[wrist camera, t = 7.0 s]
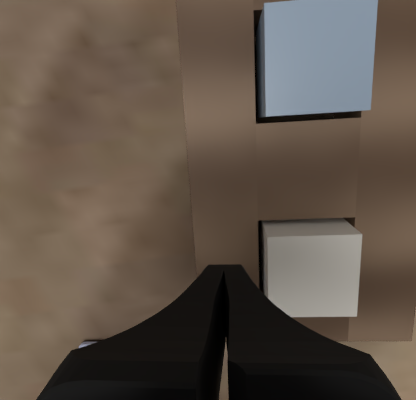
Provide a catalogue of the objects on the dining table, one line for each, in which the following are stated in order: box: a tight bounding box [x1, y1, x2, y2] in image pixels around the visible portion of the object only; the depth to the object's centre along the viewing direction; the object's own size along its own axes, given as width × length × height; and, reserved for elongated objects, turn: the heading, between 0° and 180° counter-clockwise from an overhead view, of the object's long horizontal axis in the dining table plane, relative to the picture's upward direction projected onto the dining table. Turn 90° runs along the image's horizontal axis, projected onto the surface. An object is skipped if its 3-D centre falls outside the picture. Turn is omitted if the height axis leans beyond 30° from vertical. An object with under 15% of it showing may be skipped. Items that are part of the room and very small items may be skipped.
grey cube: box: [256, 0, 378, 118], centre depth 15 cm, size 4×4×4 cm
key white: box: [260, 218, 362, 317], centre depth 17 cm, size 4×4×4 cm
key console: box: [176, 0, 416, 342], centre depth 17 cm, size 20×12×4 cm, turn 3°
